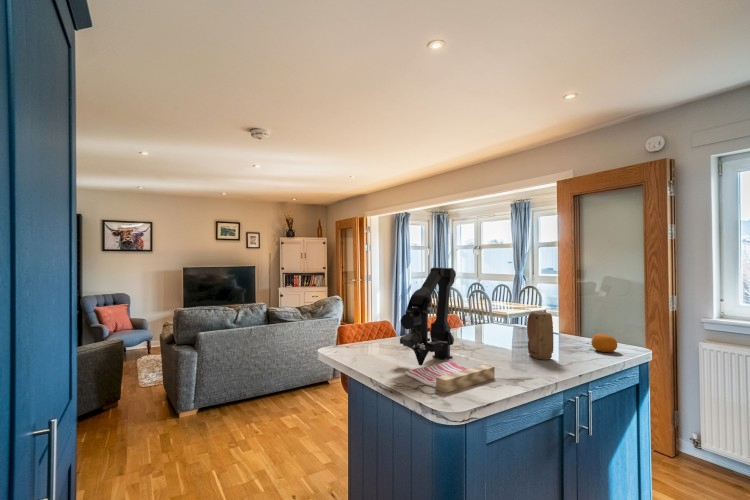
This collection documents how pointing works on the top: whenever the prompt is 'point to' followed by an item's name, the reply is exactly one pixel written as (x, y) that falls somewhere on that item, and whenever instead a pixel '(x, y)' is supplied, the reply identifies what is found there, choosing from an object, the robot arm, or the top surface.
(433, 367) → the dish towel
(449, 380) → the tan wooden bar
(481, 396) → the top surface
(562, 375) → the top surface
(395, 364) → the top surface
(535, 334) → the block
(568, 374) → the top surface
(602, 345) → the fruit
